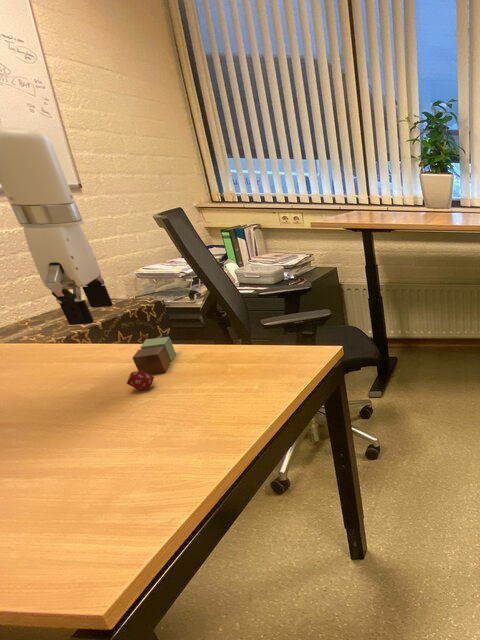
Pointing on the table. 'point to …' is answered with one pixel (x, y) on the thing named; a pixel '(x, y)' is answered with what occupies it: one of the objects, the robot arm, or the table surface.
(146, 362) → the walnut block
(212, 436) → the table surface
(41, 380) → the table surface
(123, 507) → the table surface
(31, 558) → the table surface
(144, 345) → the sage block
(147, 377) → the dice
